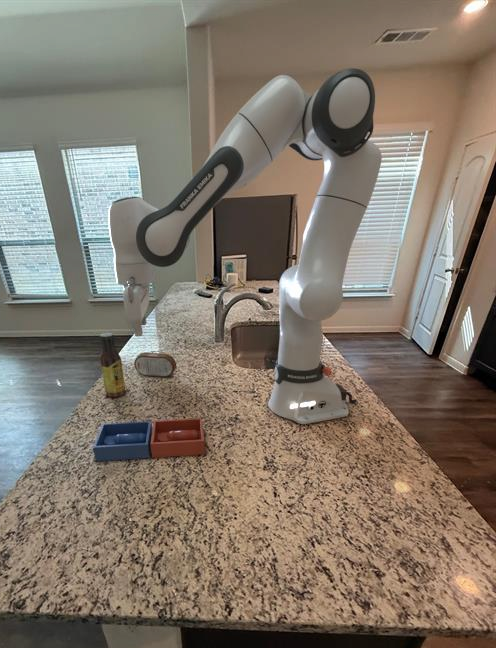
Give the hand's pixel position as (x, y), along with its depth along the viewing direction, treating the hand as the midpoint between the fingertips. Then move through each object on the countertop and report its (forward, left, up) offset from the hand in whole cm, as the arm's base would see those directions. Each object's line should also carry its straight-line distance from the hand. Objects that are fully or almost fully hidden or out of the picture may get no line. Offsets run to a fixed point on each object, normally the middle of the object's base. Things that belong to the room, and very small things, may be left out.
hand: (141, 329), depth 82 cm
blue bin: (+4, +18, -24) cm, 30 cm away
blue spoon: (+5, +18, -24) cm, 30 cm away
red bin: (-9, +18, -24) cm, 31 cm away
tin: (0, -22, -24) cm, 33 cm away
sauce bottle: (+12, -10, -24) cm, 29 cm away
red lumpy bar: (-8, +18, -24) cm, 31 cm away
